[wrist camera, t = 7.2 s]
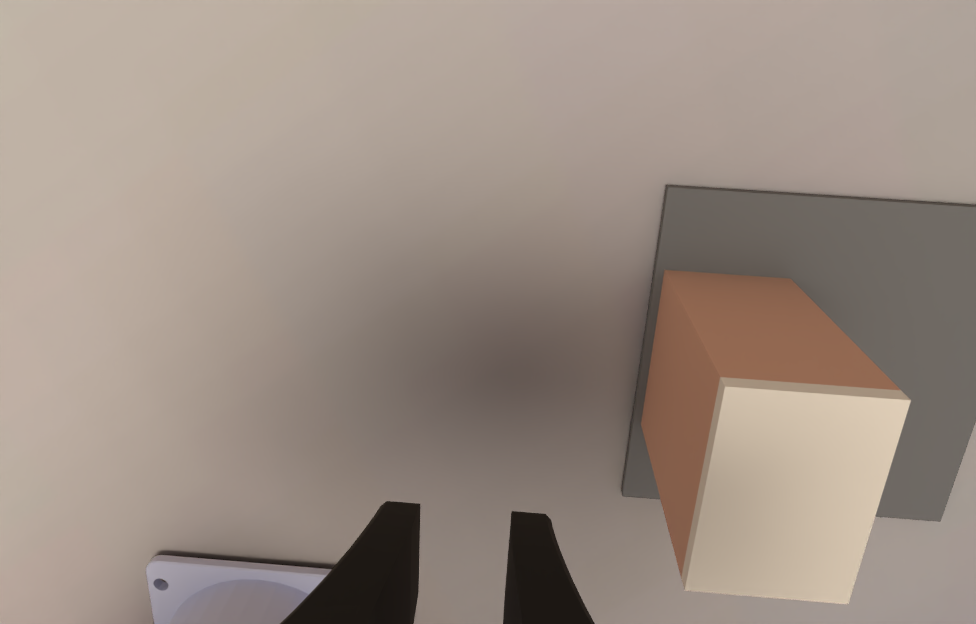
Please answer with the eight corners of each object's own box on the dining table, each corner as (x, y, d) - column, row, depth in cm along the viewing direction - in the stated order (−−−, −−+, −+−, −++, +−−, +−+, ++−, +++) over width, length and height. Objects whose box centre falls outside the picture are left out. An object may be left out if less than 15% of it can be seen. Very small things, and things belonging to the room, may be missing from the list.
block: (756, 433, 22) (847, 604, 16) (641, 424, 22) (684, 590, 16) (790, 278, 20) (910, 400, 14) (664, 269, 20) (725, 386, 14)
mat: (935, 515, 23) (940, 521, 23) (621, 490, 24) (622, 496, 23) (1041, 209, 19) (1048, 212, 19) (665, 185, 20) (668, 187, 20)
